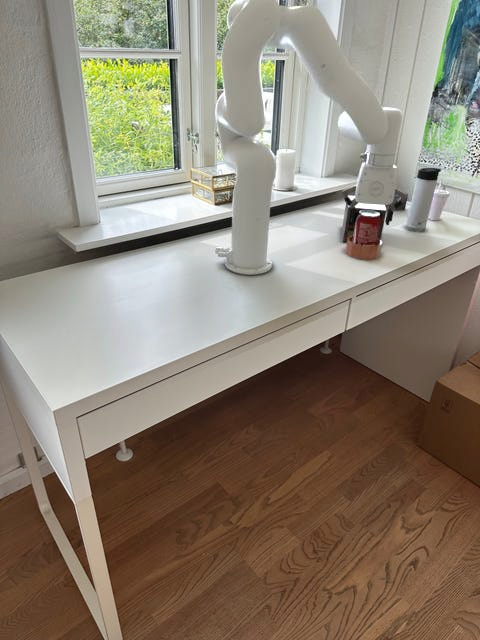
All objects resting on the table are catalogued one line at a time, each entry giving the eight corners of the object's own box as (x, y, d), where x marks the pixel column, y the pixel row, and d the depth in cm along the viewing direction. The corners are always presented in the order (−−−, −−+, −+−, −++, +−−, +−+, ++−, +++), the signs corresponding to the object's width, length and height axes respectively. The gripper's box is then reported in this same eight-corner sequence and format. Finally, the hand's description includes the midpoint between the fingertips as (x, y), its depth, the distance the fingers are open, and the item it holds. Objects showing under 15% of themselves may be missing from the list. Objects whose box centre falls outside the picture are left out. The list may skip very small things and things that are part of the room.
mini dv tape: (384, 210, 174) (388, 194, 171) (382, 209, 175) (386, 193, 172) (404, 210, 175) (408, 194, 172) (402, 208, 177) (406, 192, 174)
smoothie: (422, 215, 171) (431, 176, 163) (440, 216, 170) (450, 177, 163) (426, 220, 165) (435, 180, 158) (444, 222, 164) (455, 182, 157)
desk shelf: (342, 242, 144) (348, 207, 138) (342, 228, 155) (347, 195, 149) (379, 245, 143) (386, 210, 137) (376, 231, 154) (382, 198, 148)
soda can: (376, 258, 134) (384, 217, 128) (353, 257, 134) (360, 216, 128) (371, 249, 140) (378, 209, 134) (348, 248, 140) (355, 208, 134)
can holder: (346, 257, 133) (348, 244, 131) (345, 245, 142) (347, 233, 140) (380, 261, 132) (383, 247, 130) (377, 248, 140) (380, 236, 138)
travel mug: (422, 233, 154) (437, 171, 143) (402, 228, 157) (416, 167, 147) (428, 228, 158) (443, 167, 148) (409, 224, 161) (423, 164, 151)
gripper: (346, 160, 121) (338, 224, 130) (415, 164, 119) (402, 229, 128) (346, 154, 128) (338, 215, 137) (411, 158, 125) (399, 220, 134)
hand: (369, 222), depth 132 cm, fingers open, 9 cm apart
